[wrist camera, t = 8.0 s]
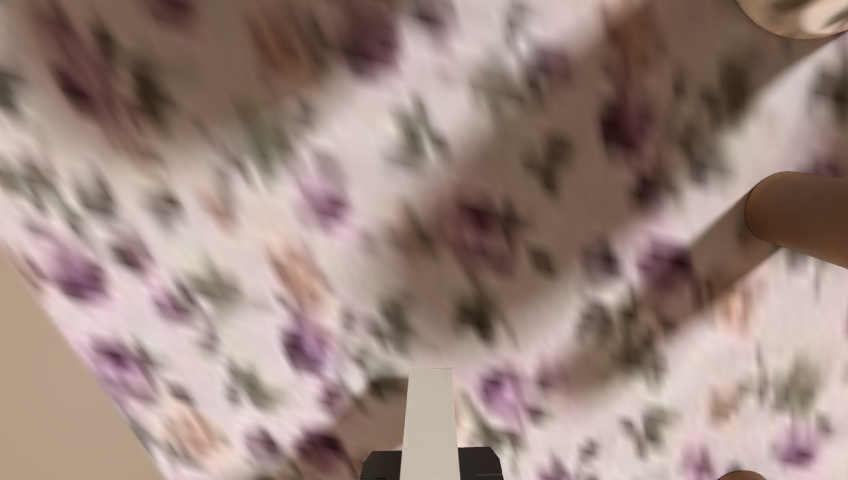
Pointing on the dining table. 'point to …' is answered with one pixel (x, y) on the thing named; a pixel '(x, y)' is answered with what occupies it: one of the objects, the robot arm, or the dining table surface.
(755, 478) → the outer post
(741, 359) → the dining table surface
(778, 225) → the inner post
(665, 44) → the dining table surface
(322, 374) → the dining table surface
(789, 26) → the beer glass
